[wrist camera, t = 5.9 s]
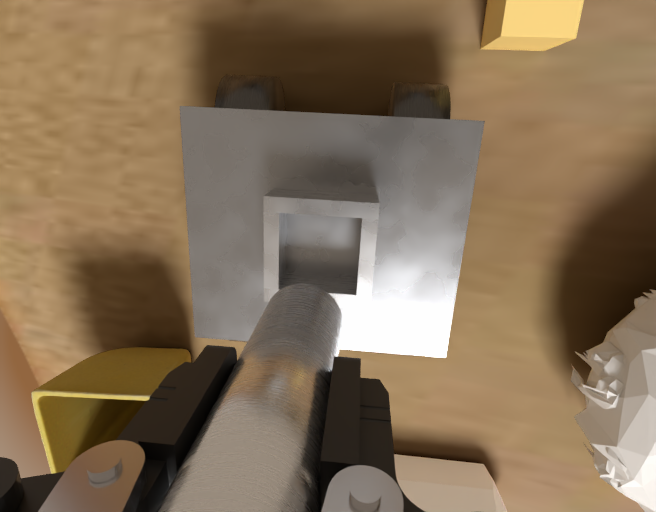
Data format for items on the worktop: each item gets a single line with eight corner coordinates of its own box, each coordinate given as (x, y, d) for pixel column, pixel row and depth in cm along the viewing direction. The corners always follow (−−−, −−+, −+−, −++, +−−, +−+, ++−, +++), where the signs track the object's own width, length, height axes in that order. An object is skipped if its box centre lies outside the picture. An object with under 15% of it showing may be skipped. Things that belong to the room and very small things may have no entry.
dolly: (458, 89, 26) (509, 72, 17) (424, 330, 32) (449, 411, 23) (221, 79, 27) (153, 57, 18) (229, 315, 33) (180, 387, 24)
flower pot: (109, 324, 34) (26, 391, 26) (208, 328, 34) (157, 397, 25) (125, 409, 37) (55, 494, 28) (217, 414, 36) (174, 503, 28)
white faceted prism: (528, 481, 32) (230, 448, 33) (528, 584, 30) (217, 546, 31) (493, 454, 39) (250, 428, 40) (492, 536, 37) (240, 506, 39)
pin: (356, 276, 14) (332, 764, 3) (350, 367, 15) (317, 938, 4) (253, 269, 14) (-74, 698, 4) (255, 358, 15) (11, 881, 5)
